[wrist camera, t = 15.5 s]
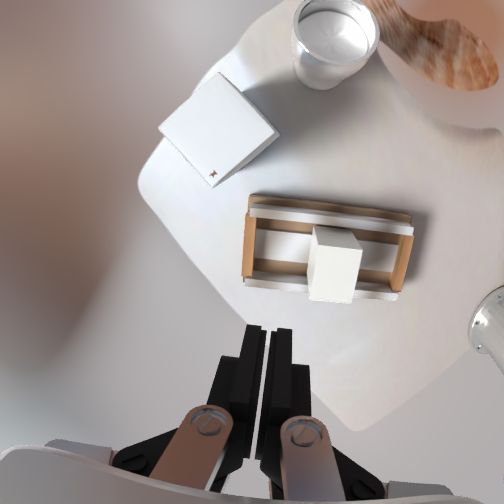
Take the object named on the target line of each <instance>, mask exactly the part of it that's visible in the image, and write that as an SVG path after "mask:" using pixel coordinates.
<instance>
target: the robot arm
mask: <svg viewBox="0 0 504 504" xmlns="http://www.w3.org/2000/svg"><path fill="white" fill-rule="evenodd" d="M266 333H267V330H261V326H257V325H249V324H247V326H246V331H245V335H244V339H243V344H242V348H241V352H240V357H239V358H237V357H229V356H221V359H220V362H219V365H218V369H217V372H216V375H215V378H214V381H213V384H212V388H211V391H210V395H209V398H208V401H207V404H206V405H201V406H198V407H195V408H193V409H192V410H190V411H189V412H188V413H187V415H186V416H185V418H184V420H183V421H182V423H181V425H180V426H179V428H176V429H174V430H171V431H169V432H166V433H164V434H161V435H159V436H156V437H153V438H151V439H148V440H145V441H143V442H140V443H137V444H134V445H132V446H129V447H126V448H124V449H122V450H120V451H113V450H112V448H111V447H103V446H96V445H90V444H84V443H78V442H72V441H67V440H60V439H55V440H52V441H50V442H48V443H47V444H46V445H45V446H39V445H17V446H13V447H10V448H8V449H6V450H5V451H3V452H2V453H1V454H0V504H483V503H481V502H480V501H477V500H475V499H471V498H468V497H462V496H455V495H453V493H452V492H451V491H450V489H449V488H447V487H446V486H443V485H439V484H438V485H437V484H420V483H408V482H397V481H389V482H388V483H382V482H381V481H380V480H379V479H377V477H375V476H374V475H372V474H371V473H369V472H368V471H366V470H365V469H364V468H362V467H361V466H359V465H358V464H356V463H355V462H354V461H352V460H351V459H350V458H348V457H347V456H345V455H344V454H343V453H341V452H340V451H338V450H337V449H336V448H334V447H333V446H332V445H331V441H330V437H329V433H328V430H327V428H326V426H325V425H324V424H323V423H322V422H321V421H319V420H318V419H316V418H313V417H311V390H310V369H309V365H300V364H292V329H284V328H277V332H276V331H271V338H270V346H269V354H268V362H267V369H266V377H265V384H264V392H263V400H262V408H261V416H260V423H259V431H258V439H257V446H256V454H255V459H257V460H261V462H260V468H261V469H260V470H261V471H262V472H263V473H264V474H265V475H266V476H268V477H269V482H268V483H269V493H270V499H260V498H251V497H243V496H235V495H228V494H223V492H224V490H225V487H226V485H227V483H228V480H229V478H230V473H232V472H233V471H235V470H237V469H239V468H241V466H242V463H243V458H248V459H249V458H250V453H251V445H252V439H253V432H254V426H255V418H256V411H257V405H258V397H259V390H260V382H261V375H262V366H263V358H264V350H265V341H266ZM468 334H469V341H470V344H471V345H472V347H473V348H474V349H475V350H476V351H477V352H479V353H482V354H489V355H490V356H491V357H492V359H493V360H494V362H495V363H496V364H497V366H498V367H499V369H500V371H501V372H502V373H503V375H504V286H503V287H501V288H498V289H497V290H495V291H493V292H492V293H491V294H490V295H488V296H487V297H486V298H485V299H484V300H483V301H482V303H481V304H480V305H479V307H478V308H477V310H476V311H475V313H474V315H473V317H472V320H471V323H470V326H469V333H468ZM503 484H504V475H503Z"/></svg>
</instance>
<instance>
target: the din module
mask: <svg viewBox="0 0 504 504" xmlns="http://www.w3.org/2000/svg"><path fill="white" fill-rule="evenodd" d="M362 251H363V250H362V248H361V246H360V245H359V243H358V241H357V240H356V238H355V236H354V235H353V233H352V231H351V230H347V229H339V228H330V227H322V226H313V232H312V240H311V247H310V254H309V261H308V268H307V280H308V290H309V300H316V301H327V302H337V303H348V304H351V303H352V299H353V294H354V290H355V285H356V281H357V276H358V271H359V267H360V262H361V257H362Z"/></svg>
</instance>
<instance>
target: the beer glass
mask: <svg viewBox="0 0 504 504" xmlns="http://www.w3.org/2000/svg"><path fill="white" fill-rule="evenodd" d="M379 38H380V30H379V25H378V22H377V20H376V18H375V16H374V14H373V13H372V11H371V10H370V9H369V8H368V7H367V6H366V5H365V4H364V3H362V2H361V1H360V0H304V1H303V2H302V3H301V4H300V5H299V7H298V8H297V10H296V12H295V15H294V20H293V24H292V28H291V37H290V40H291V48H292V52H293V55H294V57H295V61H294V68H295V72H296V74H297V76H298V78H299V79H300V80H301V81H302V82H303V83H304V84H305V85H307V86H308V87H310V88H313V89H317V90H328V89H331V88H334V87H335V86H337V85H338V84H339V83H340V82H341V81H342V80H343V79H344V78H347V77H349V76H351V75H353V74H355V73H356V72H357V71H359V70H360V69H361V68H362V67H363V66H364V65H365V64H366V62H367V61H368V60H369V58H370V57H371V55H372V54H373V53H374V51H375V50H376V48H377V46H378V43H379Z"/></svg>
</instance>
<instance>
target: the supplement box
mask: <svg viewBox="0 0 504 504" xmlns="http://www.w3.org/2000/svg"><path fill="white" fill-rule="evenodd" d="M158 128H159V130H160V132H161V133H162V134H163V135H164V136H165V137H166V138H167V139H168V140H169V141H170V142H171V144H172V145H173V146H174V147H175V148H176V149H177V150H178V151H179V152H180V154H181V155H182V156H183V157H184V158H185V160H186V161H187V162H188V163H189V164H190V165H191V166H192V167H193V168H194V169H195V170H196V171H197V172H198V173H199V175H200V176H201V177H202V178H203V179H204V180H205V181H206V182H207V184H208V185H209V186H210V187H211V188H214V187H216V186H217V185H219V184H220V183H222V182H223V181H225V180H226V179H228V178H229V177H231V176H232V175H234V174H235V173H237V172H238V171H239V170H240V169H241V168H243V167H244V166H245V165H246V164H248V163H249V162H250V161H251V160H252V159H254V158H255V157H256V156H257V155H258V154H260V153H261V152H262V151H263V150H264V149H265V148H267V147H268V146H269V145H270V144H271V143H272V142H273V141H275V140H276V139H277V138H278V137H279V136H280V134H279V132H278V131H277V130H276V129H275V128H274V127H273V125H272V124H271V123H270V122H269V121H268V120H267V119H266V117H265V116H264V115H263V114H262V113H261V112H260V111H259V110H258V108H257V107H256V106H255V105H254V104H253V103H252V102H251V101H250V100H249V99H248V98H247V97H246V96H245V95H244V94H243V93H242V92H241V91H240V90H239V89H238V88H237V87H236V86H234V85H233V84H232V83H231V82H230V81H229V80H228V79H227V78H226V77H224V76H223V75H222V74H221V73H220V72H217V73H216V74H215V75H214V76H213V77H212V78H211V79H209V80H208V81H207V82H206V83H205V84H204V85H203V86H202V87H201V88H200V89H198V90H197V91H196V92H195V93H194V94H193V95H192V96H191V97H189V98H188V99H187V100H186V101H185V102H184V103H183V104H182V105H181V106H180V107H179V108H177V109H176V110H175V111H174V112H173V113H172V114H171V115H170V116H169V117H168V118H167V119H166V120H165V121H164V122H163V123H162V124H161V125H160V126H159V127H158Z"/></svg>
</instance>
